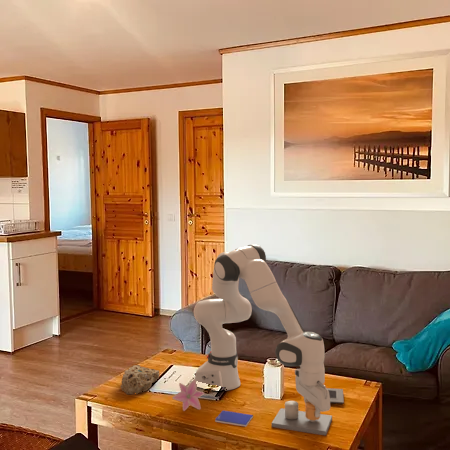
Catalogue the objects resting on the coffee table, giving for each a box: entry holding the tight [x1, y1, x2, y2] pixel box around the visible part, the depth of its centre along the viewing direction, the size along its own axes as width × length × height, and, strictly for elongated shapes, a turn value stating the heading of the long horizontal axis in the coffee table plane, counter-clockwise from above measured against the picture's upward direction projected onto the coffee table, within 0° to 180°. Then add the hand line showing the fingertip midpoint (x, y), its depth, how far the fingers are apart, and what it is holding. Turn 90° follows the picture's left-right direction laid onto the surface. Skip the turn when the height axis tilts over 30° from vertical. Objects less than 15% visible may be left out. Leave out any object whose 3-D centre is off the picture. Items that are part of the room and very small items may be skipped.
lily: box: [172, 379, 205, 412], centre depth 213 cm, size 12×12×10 cm
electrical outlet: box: [326, 387, 345, 405], centre depth 217 cm, size 13×10×2 cm
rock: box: [120, 364, 160, 395], centre depth 234 cm, size 21×14×10 cm
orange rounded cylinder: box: [304, 402, 320, 420], centre depth 194 cm, size 5×5×5 cm
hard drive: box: [214, 410, 254, 428], centre depth 201 cm, size 2×8×12 cm
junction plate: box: [271, 400, 333, 436], centre depth 196 cm, size 20×13×7 cm, turn 69°
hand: (312, 412), depth 194 cm, fingers closed on orange rounded cylinder, 5 cm apart
